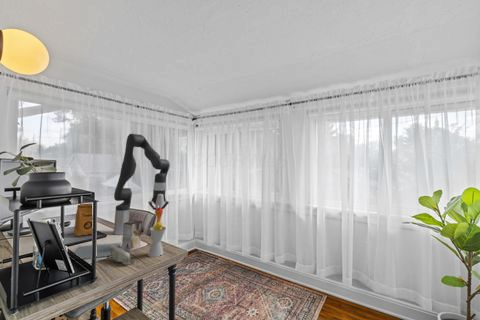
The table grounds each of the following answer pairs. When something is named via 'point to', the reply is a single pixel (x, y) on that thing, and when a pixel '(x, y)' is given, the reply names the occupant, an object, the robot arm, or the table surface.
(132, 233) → the coffee box
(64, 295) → the table surface
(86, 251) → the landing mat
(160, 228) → the lava lamp
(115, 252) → the decorative bird
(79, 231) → the coffee package
